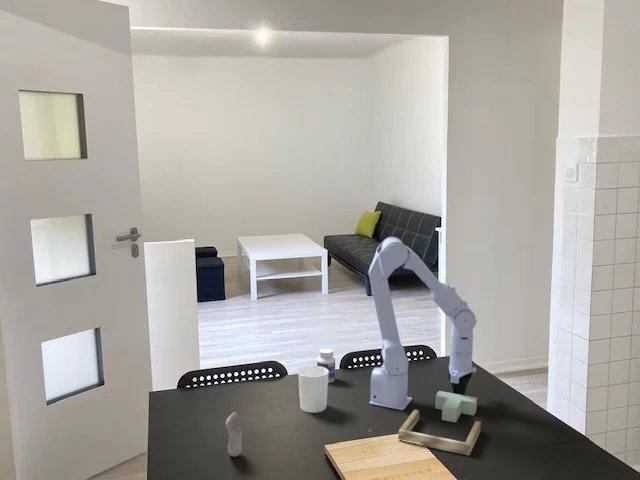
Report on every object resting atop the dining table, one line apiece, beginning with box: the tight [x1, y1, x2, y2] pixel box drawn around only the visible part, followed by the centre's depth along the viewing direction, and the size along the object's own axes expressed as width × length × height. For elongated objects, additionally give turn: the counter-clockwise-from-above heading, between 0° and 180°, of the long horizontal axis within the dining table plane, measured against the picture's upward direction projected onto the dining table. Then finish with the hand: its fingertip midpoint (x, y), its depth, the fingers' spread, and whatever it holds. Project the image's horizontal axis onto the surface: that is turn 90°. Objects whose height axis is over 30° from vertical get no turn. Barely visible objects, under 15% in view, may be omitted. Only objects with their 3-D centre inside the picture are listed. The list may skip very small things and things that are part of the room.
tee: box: [434, 390, 478, 423], centre depth 157 cm, size 10×10×4 cm
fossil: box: [225, 411, 243, 458], centre depth 136 cm, size 6×4×10 cm, turn 5°
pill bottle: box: [316, 348, 336, 384], centre depth 180 cm, size 5×5×9 cm
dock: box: [397, 409, 482, 456], centre depth 145 cm, size 16×13×2 cm
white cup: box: [297, 365, 329, 414], centre depth 160 cm, size 8×8×10 cm
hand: (459, 399), depth 164 cm, fingers closed
